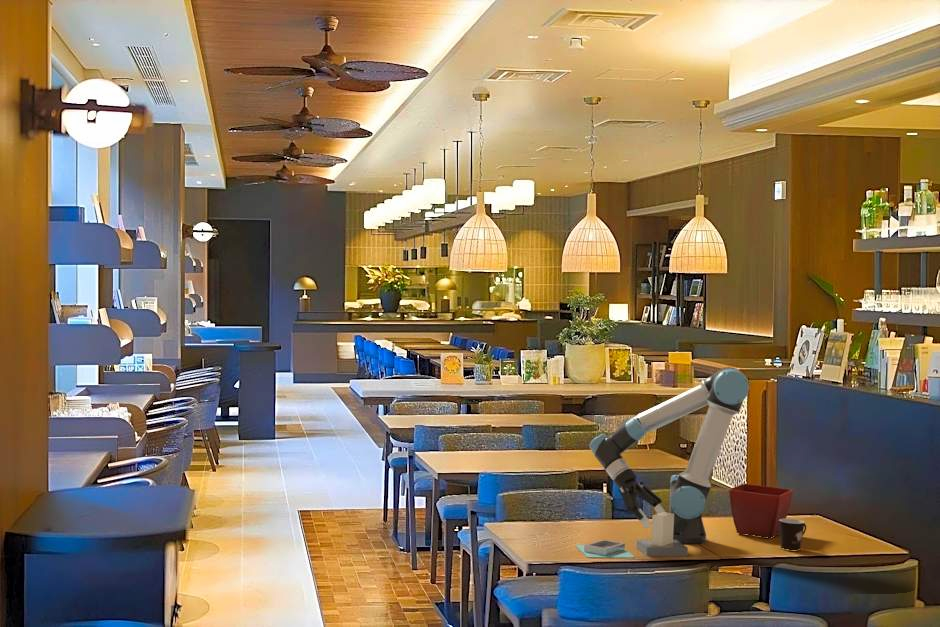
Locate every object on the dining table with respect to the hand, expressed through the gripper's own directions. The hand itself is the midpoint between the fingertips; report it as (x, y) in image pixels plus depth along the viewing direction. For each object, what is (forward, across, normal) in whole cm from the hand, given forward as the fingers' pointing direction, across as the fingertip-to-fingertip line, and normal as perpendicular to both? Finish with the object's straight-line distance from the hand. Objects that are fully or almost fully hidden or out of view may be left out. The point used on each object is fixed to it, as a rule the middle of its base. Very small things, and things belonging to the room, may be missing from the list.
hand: (658, 523), depth 407 cm
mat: (-2, -14, +16) cm, 21 cm away
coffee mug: (+30, +40, -16) cm, 52 cm away
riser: (+8, 0, +6) cm, 10 cm away
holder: (-2, -14, +16) cm, 21 cm away
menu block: (+6, 0, +3) cm, 7 cm away
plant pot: (+16, +56, -2) cm, 58 cm away
